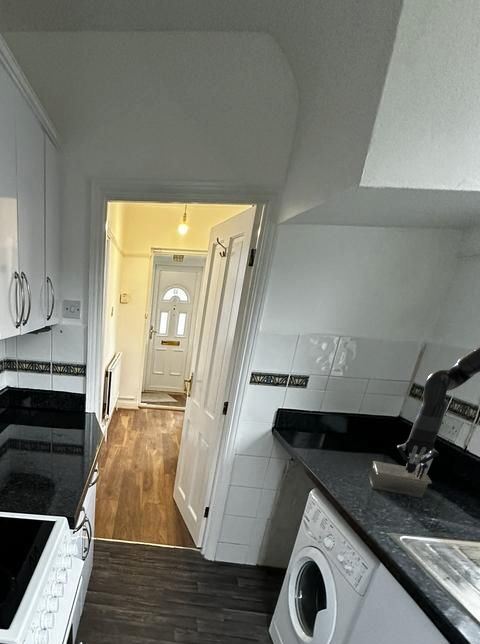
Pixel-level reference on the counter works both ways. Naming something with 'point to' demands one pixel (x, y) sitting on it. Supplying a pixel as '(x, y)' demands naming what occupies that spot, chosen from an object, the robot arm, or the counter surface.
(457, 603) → the counter surface
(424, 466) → the lid
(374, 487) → the beige storage tray
